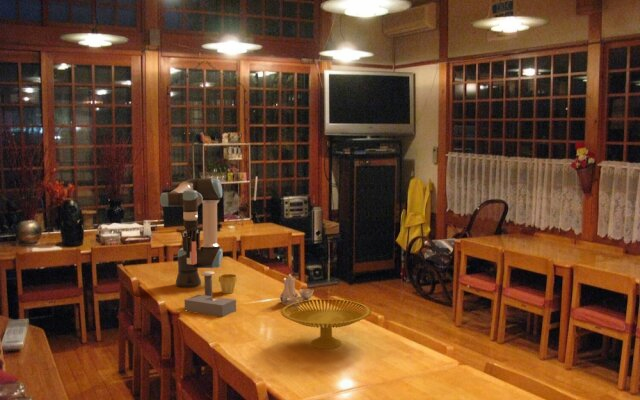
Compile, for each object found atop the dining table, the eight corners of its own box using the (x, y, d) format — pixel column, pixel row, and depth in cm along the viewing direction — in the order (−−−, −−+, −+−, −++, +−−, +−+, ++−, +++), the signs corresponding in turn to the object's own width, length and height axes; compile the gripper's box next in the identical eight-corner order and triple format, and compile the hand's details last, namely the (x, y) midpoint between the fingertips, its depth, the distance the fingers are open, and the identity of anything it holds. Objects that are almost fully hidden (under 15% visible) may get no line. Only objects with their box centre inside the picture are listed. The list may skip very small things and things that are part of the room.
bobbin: (195, 304, 355) (194, 273, 353) (206, 299, 364) (206, 269, 362) (210, 306, 350) (209, 275, 348) (221, 301, 359) (220, 271, 357)
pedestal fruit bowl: (319, 323, 318) (319, 293, 317) (389, 340, 293) (389, 308, 291) (261, 345, 287) (260, 312, 286) (333, 366, 262) (333, 330, 260)
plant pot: (238, 290, 385) (238, 273, 383) (234, 294, 374) (234, 277, 373) (221, 289, 386) (221, 273, 384) (217, 294, 375) (216, 277, 374)
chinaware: (302, 314, 340) (304, 283, 338) (271, 309, 344) (274, 278, 342) (314, 300, 367) (317, 271, 365) (286, 295, 371) (288, 267, 369)
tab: (187, 264, 349) (186, 242, 348) (191, 263, 352) (190, 241, 351) (192, 264, 347) (191, 242, 346) (196, 263, 350) (196, 241, 349)
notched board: (184, 311, 342) (184, 299, 341) (199, 305, 353) (198, 294, 352) (222, 316, 331) (222, 305, 330) (236, 310, 342) (235, 299, 341)
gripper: (186, 221, 338) (187, 266, 341) (206, 218, 353) (207, 260, 355) (174, 220, 342) (176, 265, 344) (194, 217, 356) (196, 259, 359)
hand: (191, 262), depth 350 cm, fingers closed on tab, 3 cm apart
